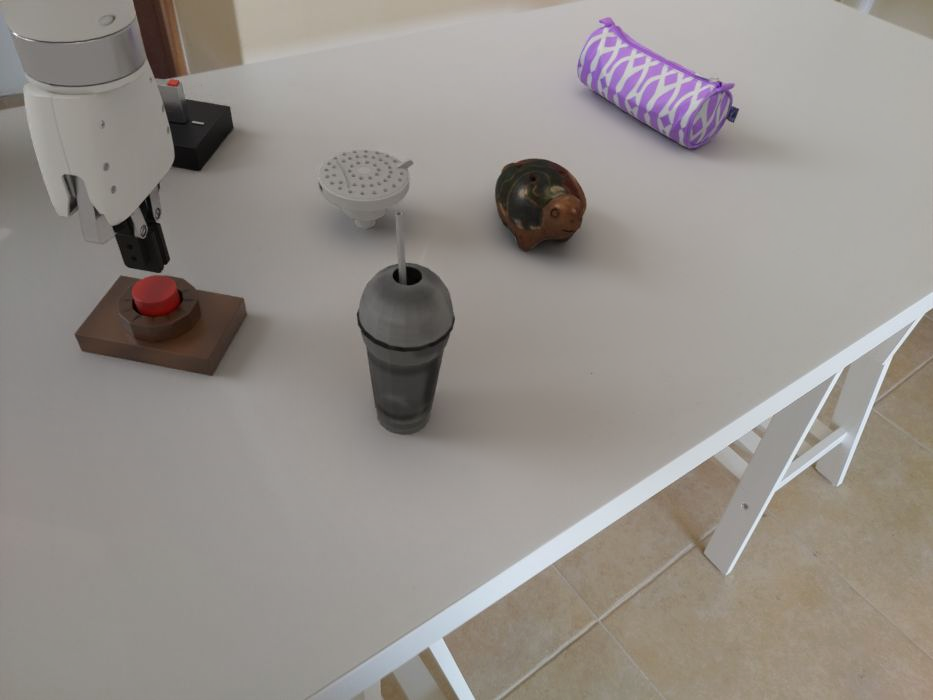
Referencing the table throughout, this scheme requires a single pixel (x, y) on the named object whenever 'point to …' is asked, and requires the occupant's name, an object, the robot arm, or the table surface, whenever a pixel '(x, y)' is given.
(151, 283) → the stop button
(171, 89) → the grey rectangular plate
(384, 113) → the table surface
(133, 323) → the button block
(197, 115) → the black lever switch box
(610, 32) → the pencil case
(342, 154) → the showerhead
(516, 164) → the decorative turtle
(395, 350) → the beverage cup
